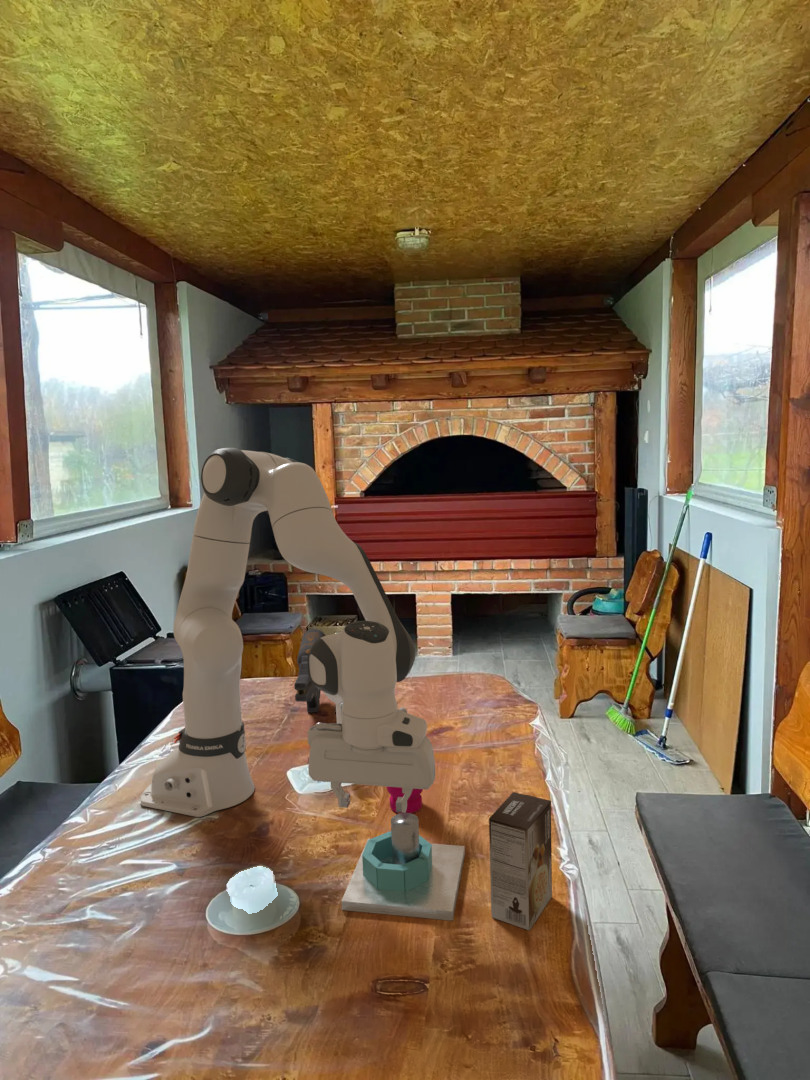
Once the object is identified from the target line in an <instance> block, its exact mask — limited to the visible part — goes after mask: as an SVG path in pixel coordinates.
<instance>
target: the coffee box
mask: <svg viewBox="0 0 810 1080" xmlns="http://www.w3.org/2000/svg"><path fill="white" fill-rule="evenodd" d="M488 825H489V827H488V832H489V834H488V835H489V864H490V865H489V867H490V868H489V869H490V870H489V873H490V874H489V875H490V907H491V908H490V912H491V914H490V915H491V917H492V918H493V919H496V920H499V921H501V922H505V923H507V924H510V925H513V926H515V927H518V928H521V929H524V930H527V931H530V930H531V929H532V928H533V927H534V925H535V923H536V922H537V920H538V919H539V917H540V915H541V914H542V912H543V911H544V909H545V908H546V906H547V904H548V903H549V901H550V900H551V899H552V897H553V886H552V885H553V880H552V879H553V877H552V875H553V871H552V868H553V867H552V863H553V862H552V853H553V852H552V800H551V799H550V800H549V799H545V798H540V797H537V796H532V795H529V794H523V793H518V792H515V791H513V792H512V793H511V794H510V795H509V796H508V797H507V798H506V799H505V800H504V802H502V804H501V805H500V806H499V807H498V808H497V809H496V810H495V811H494V812H493V814H491V816H490V817H488Z"/></svg>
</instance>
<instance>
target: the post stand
mask: <svg viewBox="0 0 810 1080" xmlns="http://www.w3.org/2000/svg"><path fill="white" fill-rule="evenodd" d="M419 825H420V824H419V817H418V816H417V815H416V814H413V813H397V814H394V815H393V816H391V818H390V831H391V836H392V856H390V857H387V858H385V859H383V860H380V862H381V863H386V864H398V865H403V864H406V863H408V862H410V861H412V860H415V859H417V858H419V857H420V851H419V835H420V827H419ZM369 839H370V838H367V840H366V842H365V845H364V847H363V849H362V852H361V853H360V857H359V858H358V861H357V863H356V866H355V868H354V870H353V873H352V875H351V877H350V880H349V882H348V885H347V887H346V889H345V892H344V894H343V896H342V898H341V901H340V902H341V903H340V904H341V911H347V912H348V911H349V912H357V913H371V914H380V915H390V916H399V917H409V918H421V919H430V920H431V919H432V920H442V921H453V920H454V917H455V916H454V915H455V910H456V904H457V898H458V894H459V887H460V882H461V878H462V871H463V867H464V860H465V854H466V850H465V847H466V846H465V845H456V844H443V843H442V844H441V843H440V844H439V843H430V842H429V843H430V844H431V845H432V867H431V871H430V875H429V879H428V881H427V882H425V883H422V884H420V885H418V886H416V887H414V888H412V889H409V890H407V891H394V890H383V889H378V888H376V887H375V886H374V885H373V884H372V883H371V882H370V881H369V880H368V879H366V878H365V877H364V876H363V861H362V854H363V852H364V849H365V847H366V845H367V842H368V840H369Z"/></svg>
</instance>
